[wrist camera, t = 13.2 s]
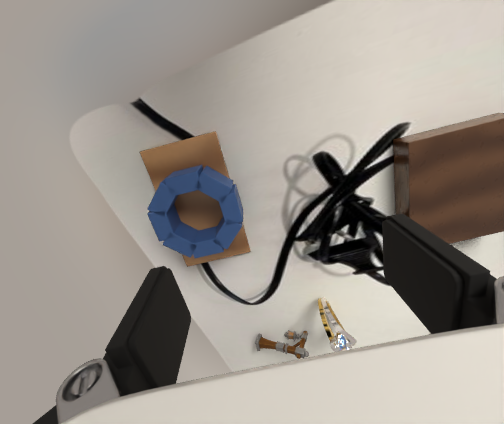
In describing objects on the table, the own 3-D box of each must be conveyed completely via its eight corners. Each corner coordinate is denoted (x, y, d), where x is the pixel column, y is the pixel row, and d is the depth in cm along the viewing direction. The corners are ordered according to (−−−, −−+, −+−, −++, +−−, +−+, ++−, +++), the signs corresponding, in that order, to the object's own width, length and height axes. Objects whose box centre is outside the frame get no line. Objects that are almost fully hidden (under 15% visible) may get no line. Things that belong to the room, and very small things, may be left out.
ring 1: (147, 178, 29) (135, 186, 26) (228, 157, 29) (226, 163, 26) (176, 249, 33) (169, 264, 30) (249, 232, 33) (249, 246, 29)
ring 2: (306, 291, 37) (322, 336, 30) (326, 282, 36) (347, 325, 29) (324, 322, 39) (343, 370, 32) (343, 314, 39) (367, 361, 31)
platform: (392, 139, 29) (408, 142, 26) (497, 112, 28) (525, 112, 26) (396, 241, 34) (410, 252, 32) (485, 220, 34) (507, 230, 31)
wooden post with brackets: (313, 337, 39) (308, 364, 35) (266, 328, 43) (256, 352, 39) (312, 329, 39) (307, 355, 35) (264, 321, 42) (254, 343, 38)
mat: (140, 151, 29) (139, 151, 28) (215, 131, 28) (215, 131, 28) (187, 264, 35) (187, 266, 34) (250, 249, 34) (250, 251, 34)
